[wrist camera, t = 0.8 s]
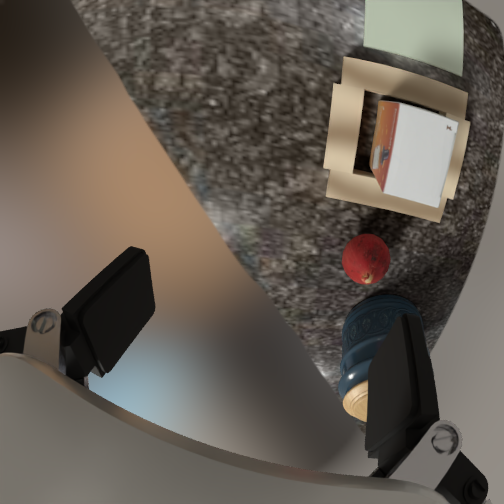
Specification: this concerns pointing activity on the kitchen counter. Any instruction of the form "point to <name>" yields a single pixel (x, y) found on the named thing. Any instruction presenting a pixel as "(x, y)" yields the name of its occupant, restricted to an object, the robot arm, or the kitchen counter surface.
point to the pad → (417, 31)
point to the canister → (367, 345)
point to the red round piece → (366, 259)
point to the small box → (412, 151)
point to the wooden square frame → (348, 124)
